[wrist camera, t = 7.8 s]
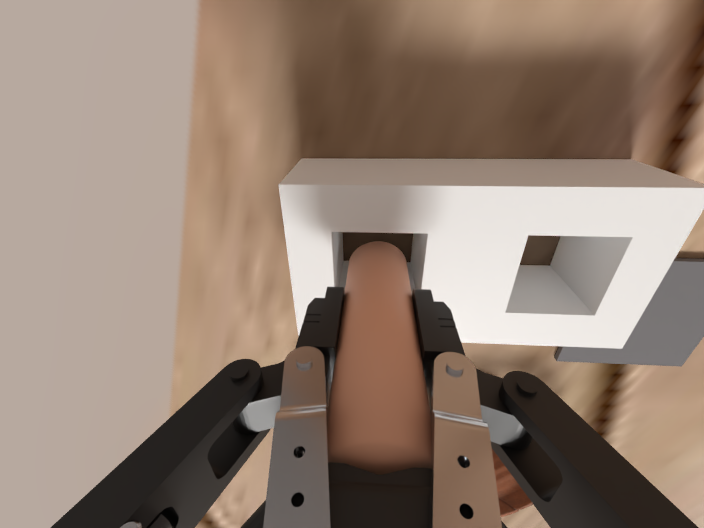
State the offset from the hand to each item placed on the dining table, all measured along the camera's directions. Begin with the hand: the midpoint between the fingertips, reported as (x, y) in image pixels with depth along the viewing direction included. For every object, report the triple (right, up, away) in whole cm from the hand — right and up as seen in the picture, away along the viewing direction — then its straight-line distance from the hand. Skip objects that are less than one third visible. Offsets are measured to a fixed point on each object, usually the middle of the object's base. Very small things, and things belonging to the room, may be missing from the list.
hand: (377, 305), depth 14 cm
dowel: (0, +2, +3) cm, 3 cm away
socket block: (+5, +4, +6) cm, 9 cm away
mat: (+19, -2, +8) cm, 21 cm away
